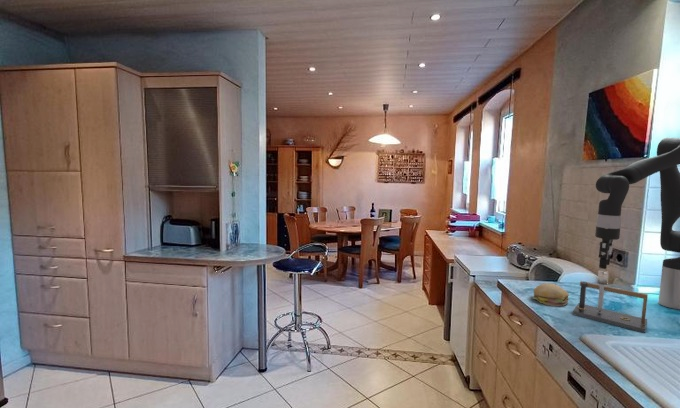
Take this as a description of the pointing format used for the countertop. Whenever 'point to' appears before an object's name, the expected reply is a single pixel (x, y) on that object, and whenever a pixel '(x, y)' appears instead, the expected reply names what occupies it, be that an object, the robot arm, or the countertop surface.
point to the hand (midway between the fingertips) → (604, 266)
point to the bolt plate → (612, 316)
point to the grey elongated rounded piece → (602, 287)
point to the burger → (551, 295)
